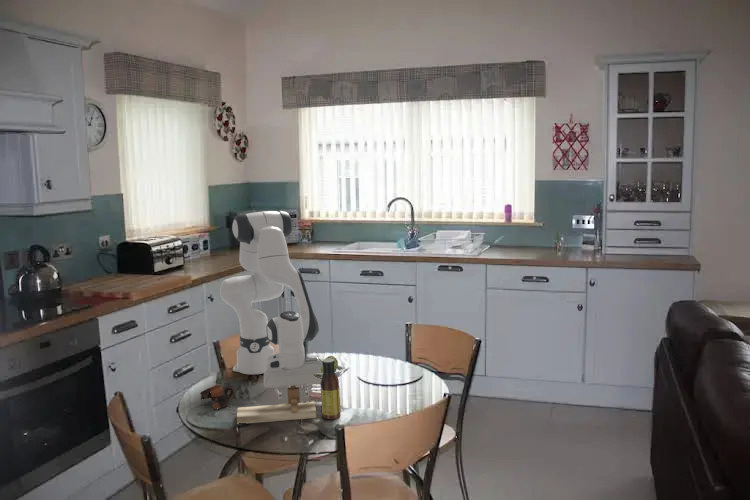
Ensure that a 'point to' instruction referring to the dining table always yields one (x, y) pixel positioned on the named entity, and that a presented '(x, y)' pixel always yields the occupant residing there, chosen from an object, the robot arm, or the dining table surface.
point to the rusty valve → (218, 395)
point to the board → (275, 413)
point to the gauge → (293, 397)
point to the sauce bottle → (330, 390)
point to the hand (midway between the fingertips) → (293, 397)
